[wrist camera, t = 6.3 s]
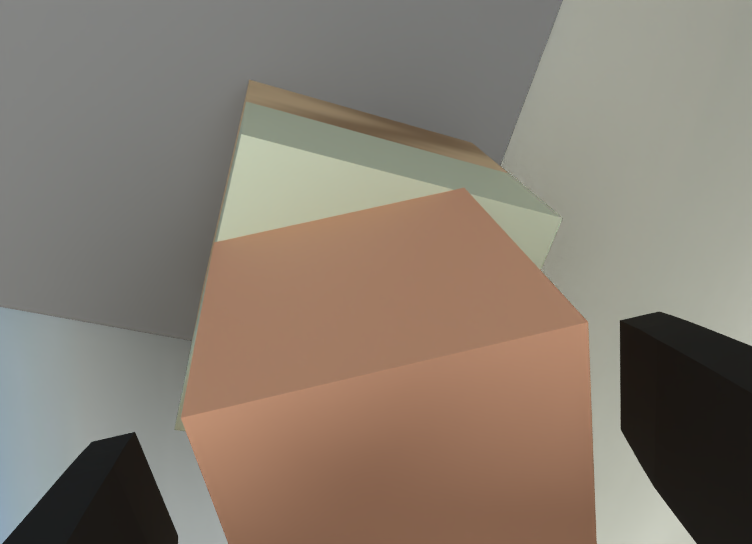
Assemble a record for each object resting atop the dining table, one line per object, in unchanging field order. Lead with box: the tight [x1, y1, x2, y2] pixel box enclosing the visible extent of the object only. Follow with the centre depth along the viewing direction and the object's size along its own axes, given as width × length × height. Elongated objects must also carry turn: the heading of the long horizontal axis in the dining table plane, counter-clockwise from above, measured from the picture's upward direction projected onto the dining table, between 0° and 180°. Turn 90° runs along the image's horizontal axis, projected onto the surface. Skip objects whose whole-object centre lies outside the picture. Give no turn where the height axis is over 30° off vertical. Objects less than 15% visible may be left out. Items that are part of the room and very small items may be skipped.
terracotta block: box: [181, 188, 597, 544], centre depth 10 cm, size 4×4×5 cm
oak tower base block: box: [190, 80, 508, 349], centre depth 17 cm, size 6×6×3 cm
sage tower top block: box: [174, 102, 563, 431], centre depth 14 cm, size 6×6×3 cm
